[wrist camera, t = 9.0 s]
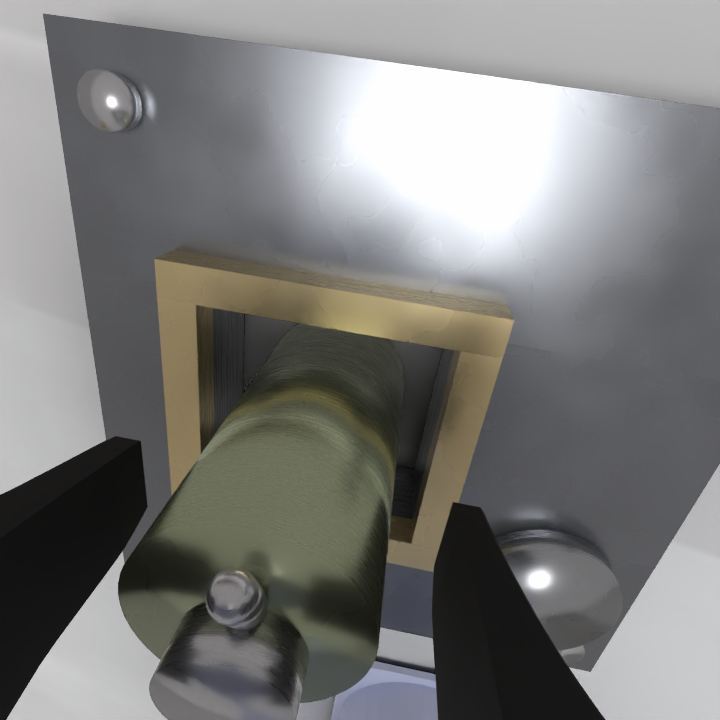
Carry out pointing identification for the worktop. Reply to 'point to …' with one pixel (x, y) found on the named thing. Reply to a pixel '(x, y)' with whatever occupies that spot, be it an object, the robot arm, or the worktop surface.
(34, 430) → the worktop surface
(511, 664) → the robot arm
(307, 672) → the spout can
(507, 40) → the worktop surface
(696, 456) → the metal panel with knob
